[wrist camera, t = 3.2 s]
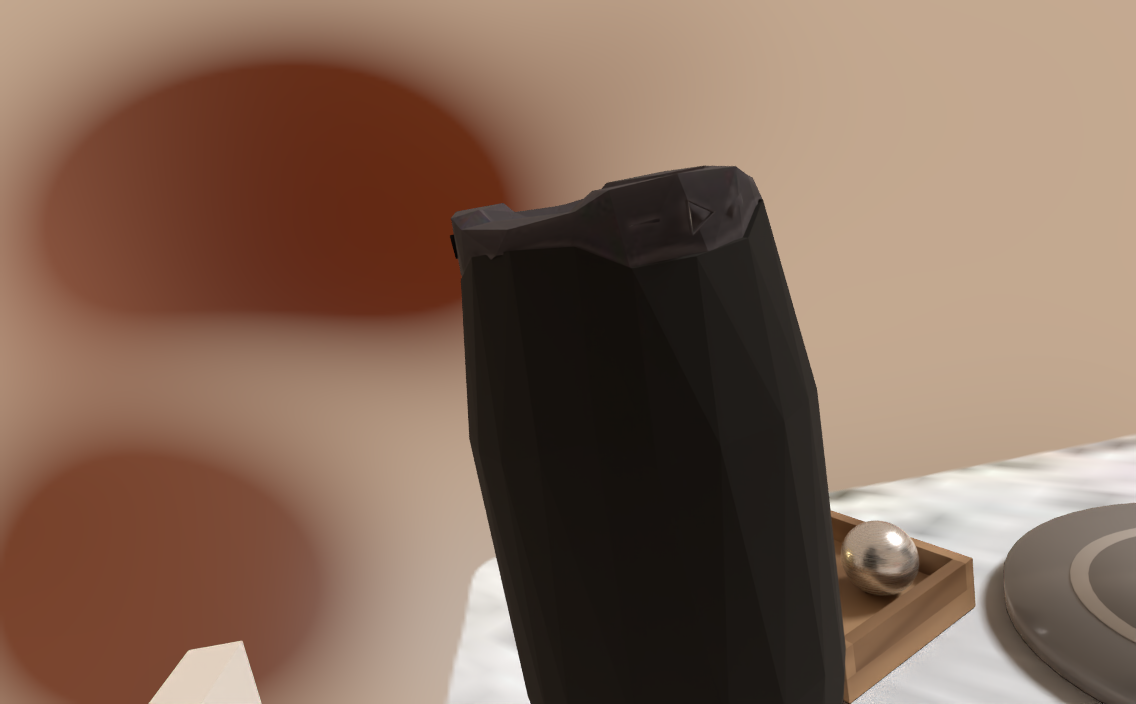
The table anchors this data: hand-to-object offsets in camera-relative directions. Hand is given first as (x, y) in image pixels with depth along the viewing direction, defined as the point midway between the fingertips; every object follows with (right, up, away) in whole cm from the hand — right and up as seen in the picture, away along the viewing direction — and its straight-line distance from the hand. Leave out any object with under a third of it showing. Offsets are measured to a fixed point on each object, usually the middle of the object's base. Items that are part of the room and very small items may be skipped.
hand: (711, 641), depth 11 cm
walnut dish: (+9, -7, +21) cm, 24 cm away
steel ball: (+11, -4, +20) cm, 23 cm away
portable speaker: (+2, -11, +13) cm, 17 cm away
